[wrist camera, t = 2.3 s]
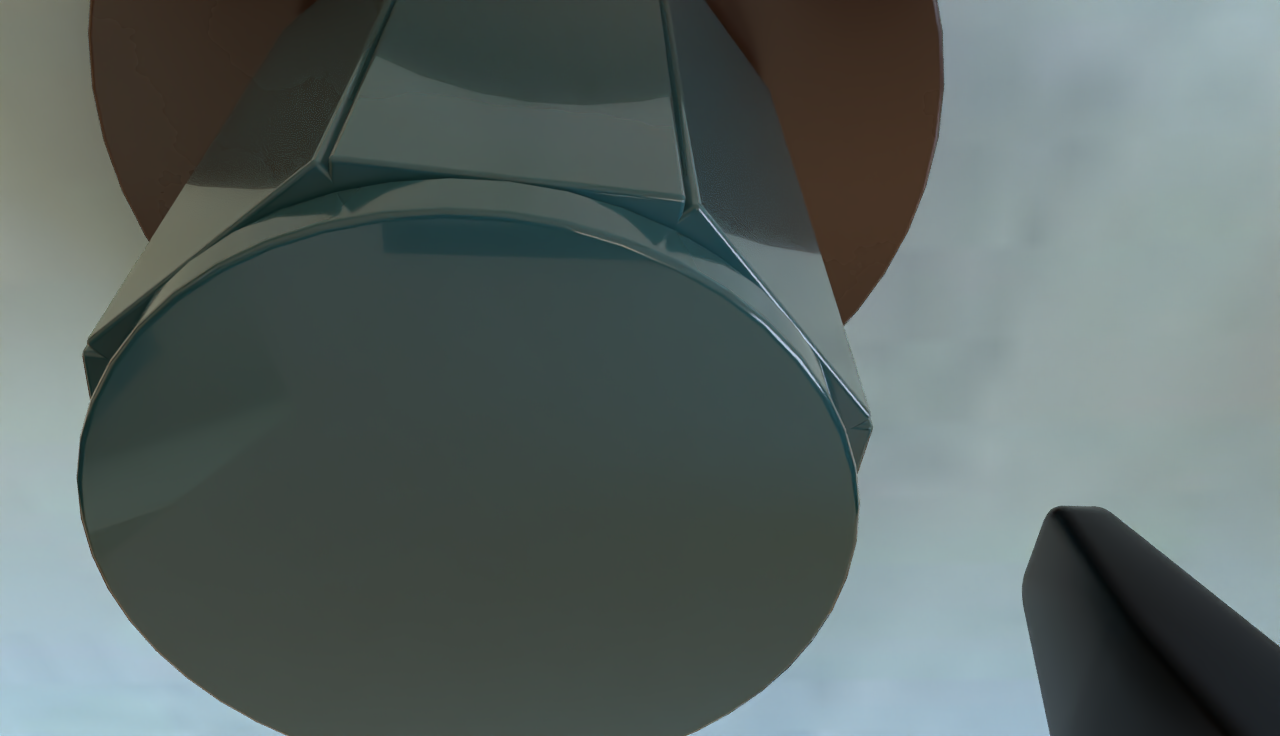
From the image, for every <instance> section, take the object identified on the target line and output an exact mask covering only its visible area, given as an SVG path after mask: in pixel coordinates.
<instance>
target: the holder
mask: <svg viewBox="0 0 1280 736" xmlns="http://www.w3.org/2000/svg"><path fill="white" fill-rule="evenodd" d="M316 1H317V0H90V10H89V25H88V38H89V51H90V65H91V78H92V88H93V93H94V98H95V102H96V107H97V111H98V116H99V121H100V125H101V130H102V134H103V139H104V142H105V145H106V148H107V151H108V154H109V156H110V159H111V162H112V165H113V167H114V170H115V173H116V176H117V178H118V181H119V184H120V187H121V190H122V192H123V194H124V196H125V197H126V199H127V201H128V203H129V205H130V207H131V209H132V211H133V213H134V215H135V217H136V219H137V221H138V223H139V225H140V227H141V229H142V231H143V233H144V235H145V236H146V238H147V239H148V241H150V240H151V238H152V236H153V235H154V233H155V232H156V230H157V229H158V227H159V225H160V224H161V222H162V221H163V219H164V218H165V216H166V214H167V213H168V211H169V210H170V208H171V206H172V205H173V203H174V202H175V200H176V199H177V197H178V195H179V194H180V192H181V191H182V189H183V188H184V186H185V184H186V183H187V181H188V180H189V178H190V177H191V175H192V173H193V172H194V170H195V169H196V167H197V165H198V164H199V162H200V161H201V159H202V158H203V156H204V154H205V153H206V151H207V150H208V148H209V147H210V145H211V143H212V142H213V140H214V139H215V137H216V136H217V134H218V132H219V131H220V129H221V128H222V126H223V124H224V123H225V121H226V120H227V118H228V117H229V115H230V113H231V112H232V110H233V109H234V107H235V106H236V104H237V102H238V101H239V99H240V98H241V96H242V95H243V93H244V91H245V90H246V88H247V87H248V85H249V83H250V82H251V80H252V79H253V77H254V76H255V74H256V72H257V71H258V69H259V68H260V66H261V65H262V63H263V61H264V60H265V58H266V57H267V55H268V54H269V52H270V50H271V49H272V47H273V46H274V44H275V42H276V41H277V39H278V38H279V36H280V35H281V33H282V31H283V30H284V29H285V28H286V27H287V26H288V25H289V24H291V23H292V22H293V21H294V20H295V19H296V18H298V17H299V16H300V15H301V14H302V13H303V12H304V11H306V10H307V9H308V8H309V7H310V6H311V5H313V4H314V3H315V2H316ZM705 1H706V3H707V4H708V6H709V7H710V8H711V10H712V11H713V13H714V14H715V15H716V17H717V18H718V19H719V21H720V22H721V24H722V25H723V26H724V28H725V29H726V31H727V32H728V33H729V35H730V36H731V37H732V39H733V40H734V42H735V43H736V44H737V46H738V47H739V49H740V50H741V51H742V53H743V54H744V55H745V57H746V58H747V60H748V61H749V62H750V64H751V65H752V67H753V68H754V69H755V71H756V72H757V73H758V75H759V76H760V78H761V79H762V80H763V82H764V83H765V85H766V86H767V87H768V89H769V90H770V93H771V97H772V100H773V103H774V106H775V109H776V112H777V116H778V119H779V122H780V125H781V128H782V132H783V135H784V138H785V141H786V144H787V148H788V151H789V154H790V157H791V160H792V164H793V167H794V170H795V173H796V176H797V180H798V183H799V186H800V189H801V192H802V196H803V199H804V202H805V205H806V208H807V212H808V215H809V218H810V221H811V224H812V227H813V231H814V234H815V237H816V240H817V243H818V247H819V250H820V253H821V256H822V259H823V263H824V266H825V269H826V272H827V275H828V279H829V282H830V285H831V288H832V291H833V295H834V298H835V301H836V304H837V307H838V311H839V314H840V317H841V320H842V323H843V326H844V325H845V324H846V323H847V322H848V320H849V319H850V318H851V317H852V316H853V315H854V314H855V313H856V312H857V311H858V310H859V308H860V307H861V305H862V304H863V303H864V301H865V300H866V299H867V297H868V296H869V294H870V293H871V292H872V290H873V289H874V288H875V286H876V285H877V283H878V282H879V281H880V279H881V278H882V277H883V275H884V274H885V272H886V271H887V269H888V267H889V265H890V263H891V262H892V260H893V258H894V256H895V254H896V253H897V251H898V249H899V247H900V245H901V243H902V242H903V240H904V238H905V236H906V234H907V233H908V231H909V228H910V225H911V223H912V220H913V218H914V215H915V213H916V210H917V208H918V205H919V203H920V200H921V198H922V195H923V193H924V190H925V188H926V185H927V181H928V177H929V173H930V169H931V165H932V161H933V157H934V153H935V149H936V145H937V141H938V137H939V129H940V120H941V111H942V101H943V92H944V58H943V30H942V25H941V19H940V13H939V7H938V1H937V0H705Z"/></svg>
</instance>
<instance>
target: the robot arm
mask: <svg viewBox="0 0 1280 736" xmlns="http://www.w3.org/2000/svg"><path fill="white" fill-rule="evenodd" d="M1022 599H1023V607H1024V612H1025V617H1026V621H1027V626H1028V631H1029V636H1030V641H1031V646H1032V650H1033V655H1034V660H1035V665H1036V670H1037V674H1038V679H1039V684H1040V689H1041V694H1042V698H1043V703H1044V708H1045V713H1046V718H1047V722H1048V727H1049V732H1050V736H1280V647H1279V646H1278V645H1277V644H1276V643H1274V642H1273V641H1272V640H1271V639H1269V638H1268V637H1267V636H1266V635H1264V634H1263V633H1262V632H1261V631H1259V630H1258V629H1257V628H1256V627H1254V626H1253V625H1252V624H1251V623H1249V622H1248V621H1247V620H1246V619H1244V618H1243V617H1242V616H1241V615H1239V614H1238V613H1237V612H1235V611H1234V610H1233V609H1232V608H1230V607H1229V606H1228V605H1227V604H1225V603H1224V602H1223V601H1222V600H1220V599H1219V598H1218V597H1217V596H1215V595H1214V594H1213V593H1212V592H1210V591H1209V590H1208V589H1207V588H1205V587H1204V586H1203V585H1202V584H1200V583H1199V582H1198V581H1197V580H1195V579H1194V578H1193V577H1192V576H1190V575H1189V574H1188V573H1187V572H1185V571H1184V570H1183V569H1181V568H1180V567H1179V566H1178V565H1176V564H1175V563H1174V562H1173V561H1171V560H1170V559H1169V558H1168V557H1166V556H1165V555H1164V554H1163V553H1161V552H1160V551H1159V550H1158V549H1156V548H1155V547H1154V546H1153V545H1151V544H1150V543H1149V542H1148V541H1146V540H1145V539H1144V538H1143V537H1141V536H1140V535H1139V534H1138V533H1136V532H1135V531H1134V530H1133V529H1131V528H1130V527H1129V526H1128V525H1126V524H1125V523H1124V522H1122V521H1121V520H1120V519H1119V518H1117V517H1116V516H1115V515H1114V514H1112V513H1111V512H1109V511H1108V510H1106V509H1104V508H1101V507H1096V506H1058V507H1055V508H1053V509H1051V510H1050V511H1049V512H1048V514H1047V515H1046V517H1045V519H1044V521H1043V524H1042V527H1041V530H1040V532H1039V535H1038V538H1037V541H1036V543H1035V546H1034V549H1033V552H1032V554H1031V557H1030V560H1029V563H1028V566H1027V568H1026V571H1025V574H1024V578H1023V584H1022Z"/></svg>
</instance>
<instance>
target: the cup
mask: <svg viewBox="0 0 1280 736" xmlns="http://www.w3.org/2000/svg"><path fill="white" fill-rule="evenodd" d="M82 357H83V363H84V368H85V374H86V379H87V385H88V391H89V396H90V403H89V406H88V410H87V413H86V417H85V420H84V424H83V427H82V431H81V434H80V440H79V452H78V464H77V485H78V495H79V504H80V514H81V520H82V523H83V527H84V530H85V534H86V537H87V541H88V544H89V547H90V551H91V554H92V557H93V559H94V561H95V563H96V565H97V567H98V569H99V571H100V573H101V575H102V577H103V580H104V582H105V584H106V586H107V588H108V590H109V591H110V593H111V594H112V596H113V597H114V599H115V600H116V602H117V603H118V605H119V606H120V608H121V609H122V610H123V612H124V613H125V615H126V616H127V618H128V619H129V621H130V622H131V623H132V624H133V626H134V627H135V628H136V629H137V630H138V631H139V632H140V633H141V635H142V636H143V637H144V638H145V639H146V640H147V641H148V642H149V643H150V645H151V646H152V647H153V648H154V649H155V650H156V651H157V652H158V653H159V654H160V655H161V656H162V657H163V658H165V659H166V660H167V661H168V662H169V663H170V664H171V665H173V666H174V667H175V668H176V669H177V670H178V671H179V672H181V673H182V674H183V675H184V676H185V677H186V678H187V679H189V680H190V681H192V682H193V683H195V684H196V685H197V686H199V687H200V688H202V689H203V690H205V691H206V692H207V693H209V694H210V695H212V696H213V697H214V698H216V699H217V700H219V701H220V702H222V703H224V704H225V705H227V706H229V707H231V708H232V709H234V710H236V711H238V712H240V713H241V714H243V715H245V716H247V717H248V718H250V719H252V720H254V721H255V722H257V723H260V724H262V725H264V726H266V727H269V728H271V729H273V730H275V731H278V732H280V733H282V734H284V735H286V736H687V735H689V734H692V733H694V732H696V731H698V730H700V729H702V728H704V727H706V726H708V725H709V724H711V723H713V722H715V721H717V720H719V719H720V718H722V717H724V716H726V715H728V714H730V713H731V712H733V711H734V710H736V709H737V708H738V707H740V706H741V705H743V704H744V703H746V702H747V701H749V700H750V699H752V698H753V697H754V696H756V695H757V694H759V693H760V692H762V691H763V690H764V689H765V688H766V687H767V686H768V685H770V684H771V683H772V682H773V681H774V680H775V679H776V678H777V677H779V676H780V675H781V674H782V673H783V672H784V671H785V670H787V669H788V668H789V667H790V666H791V664H792V663H793V662H794V661H795V660H796V659H797V658H798V657H799V655H800V654H801V653H802V652H803V651H804V650H805V649H806V647H807V646H808V645H809V644H810V643H811V642H812V641H813V639H814V638H815V636H816V635H817V633H818V631H819V630H820V628H821V627H822V625H823V624H824V622H825V621H826V619H827V618H828V616H829V615H830V613H831V612H832V610H833V608H834V605H835V603H836V601H837V599H838V597H839V594H840V592H841V590H842V588H843V585H844V583H845V581H846V579H847V576H848V572H849V569H850V565H851V561H852V557H853V553H854V550H855V546H856V542H857V534H858V522H859V510H860V499H859V488H858V478H857V474H858V471H859V468H860V465H861V462H862V459H863V456H864V453H865V450H866V447H867V444H868V441H869V438H870V435H871V432H872V429H873V425H872V422H871V418H870V417H871V414H870V410H869V406H868V403H867V400H866V397H865V394H864V390H863V387H862V384H861V381H860V378H859V374H858V371H857V368H856V365H855V362H854V358H853V355H852V352H851V349H850V346H849V342H848V339H847V336H846V333H845V330H844V327H843V323H842V320H841V317H840V314H839V311H838V307H837V304H836V301H835V298H834V295H833V291H832V288H831V285H830V282H829V279H828V275H827V272H826V269H825V266H824V263H823V259H822V256H821V253H820V250H819V247H818V243H817V240H816V237H815V234H814V231H813V227H812V224H811V221H810V218H809V215H808V212H807V208H806V205H805V202H804V199H803V196H802V192H801V189H800V186H799V183H798V180H797V176H796V173H795V170H794V167H793V164H792V160H791V157H790V154H789V151H788V148H787V144H786V141H785V138H784V135H783V132H782V128H781V125H780V122H779V119H778V116H777V112H776V109H775V106H774V103H773V100H772V97H771V93H770V90H769V89H768V87H767V86H766V85H765V83H764V82H763V80H762V79H761V78H760V76H759V75H758V73H757V72H756V71H755V69H754V68H753V67H752V65H751V64H750V62H749V61H748V60H747V58H746V57H745V55H744V54H743V53H742V51H741V50H740V49H739V47H738V46H737V44H736V43H735V42H734V40H733V39H732V37H731V36H730V35H729V33H728V32H727V31H726V29H725V28H724V26H723V25H722V24H721V22H720V21H719V19H718V18H717V17H716V15H715V14H714V13H713V11H712V10H711V8H710V7H709V6H708V4H707V3H706V1H705V0H317V1H316V2H315V3H314V4H313V5H311V6H310V7H309V8H308V9H307V10H306V11H304V12H303V13H302V14H301V15H300V16H299V17H298V18H296V19H295V20H294V21H293V22H292V23H291V24H289V25H288V26H287V27H286V28H285V29H284V30H283V31H282V33H281V35H280V36H279V38H278V39H277V41H276V42H275V44H274V46H273V47H272V49H271V50H270V52H269V54H268V55H267V57H266V58H265V60H264V61H263V63H262V65H261V66H260V68H259V69H258V71H257V72H256V74H255V76H254V77H253V79H252V80H251V82H250V83H249V85H248V87H247V88H246V90H245V91H244V93H243V95H242V96H241V98H240V99H239V101H238V102H237V104H236V106H235V107H234V109H233V110H232V112H231V113H230V115H229V117H228V118H227V120H226V121H225V123H224V124H223V126H222V128H221V129H220V131H219V132H218V134H217V136H216V137H215V139H214V140H213V142H212V143H211V145H210V147H209V148H208V150H207V151H206V153H205V154H204V156H203V158H202V159H201V161H200V162H199V164H198V165H197V167H196V169H195V170H194V172H193V173H192V175H191V177H190V178H189V180H188V181H187V183H186V184H185V186H184V188H183V189H182V191H181V192H180V194H179V195H178V197H177V199H176V200H175V202H174V203H173V205H172V206H171V208H170V210H169V211H168V213H167V214H166V216H165V218H164V219H163V221H162V222H161V224H160V225H159V227H158V229H157V230H156V232H155V233H154V235H153V236H152V238H151V240H150V241H149V243H148V244H147V246H146V247H145V249H144V251H143V252H142V254H141V255H140V257H139V259H138V260H137V262H136V263H135V265H134V266H133V268H132V270H131V271H130V273H129V274H128V276H127V277H126V279H125V281H124V282H123V284H122V285H121V287H120V288H119V290H118V292H117V293H116V295H115V296H114V298H113V300H112V301H111V303H110V304H109V306H108V307H107V309H106V311H105V312H104V314H103V315H102V317H101V318H100V320H99V322H98V323H97V325H96V326H95V328H94V329H93V331H92V333H91V334H90V336H89V337H88V340H87V346H86V347H85V349H84V351H83V353H82Z"/></svg>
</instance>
